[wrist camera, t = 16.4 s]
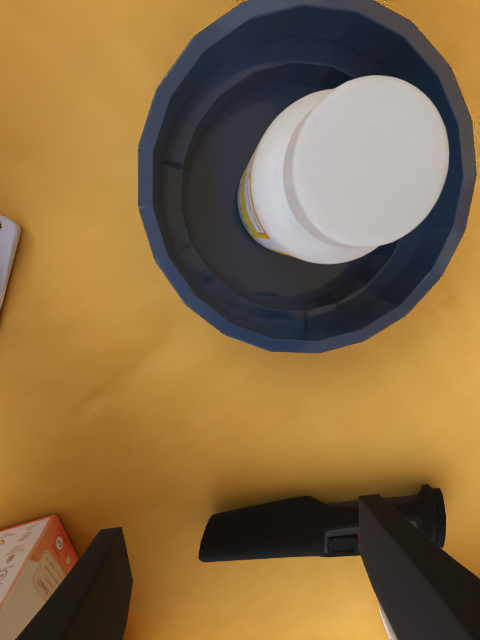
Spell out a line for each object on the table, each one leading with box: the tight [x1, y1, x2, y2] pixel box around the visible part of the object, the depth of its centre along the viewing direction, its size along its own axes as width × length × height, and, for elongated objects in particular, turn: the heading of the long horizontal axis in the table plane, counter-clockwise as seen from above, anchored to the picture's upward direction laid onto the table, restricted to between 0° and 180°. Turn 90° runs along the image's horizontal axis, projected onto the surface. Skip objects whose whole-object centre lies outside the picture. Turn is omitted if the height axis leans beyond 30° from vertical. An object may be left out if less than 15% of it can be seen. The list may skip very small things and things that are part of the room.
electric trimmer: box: [199, 484, 446, 562], centre depth 22 cm, size 4×16×3 cm, turn 91°
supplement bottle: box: [238, 75, 449, 264], centre depth 13 cm, size 5×5×10 cm
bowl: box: [138, 0, 477, 353], centre depth 16 cm, size 14×14×4 cm
